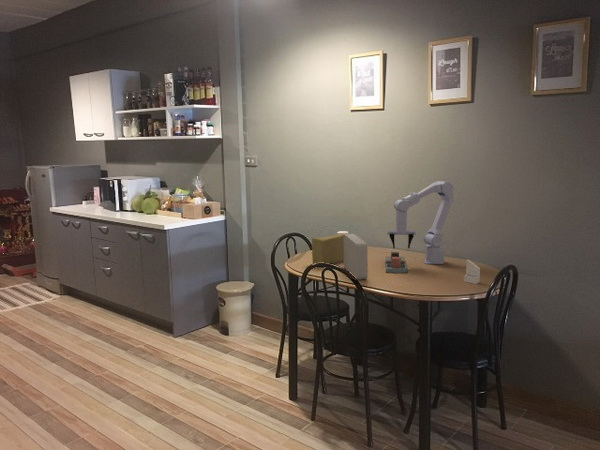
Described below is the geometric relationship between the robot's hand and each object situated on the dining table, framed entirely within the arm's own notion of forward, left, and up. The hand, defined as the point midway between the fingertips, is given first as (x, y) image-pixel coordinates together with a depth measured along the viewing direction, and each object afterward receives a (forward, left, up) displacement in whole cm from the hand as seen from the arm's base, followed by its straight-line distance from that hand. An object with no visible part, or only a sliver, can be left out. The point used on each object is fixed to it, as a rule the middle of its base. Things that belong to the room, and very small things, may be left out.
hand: (401, 248), depth 267 cm
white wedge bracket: (-32, +29, -10) cm, 44 cm away
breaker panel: (+3, -1, -9) cm, 10 cm away
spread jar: (+33, -30, -10) cm, 46 cm away
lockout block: (+3, +10, -9) cm, 14 cm away
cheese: (+37, -4, -10) cm, 38 cm away
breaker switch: (+3, +2, -6) cm, 7 cm away
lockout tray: (+3, +10, -9) cm, 14 cm away
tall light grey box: (+23, +18, -10) cm, 31 cm away
